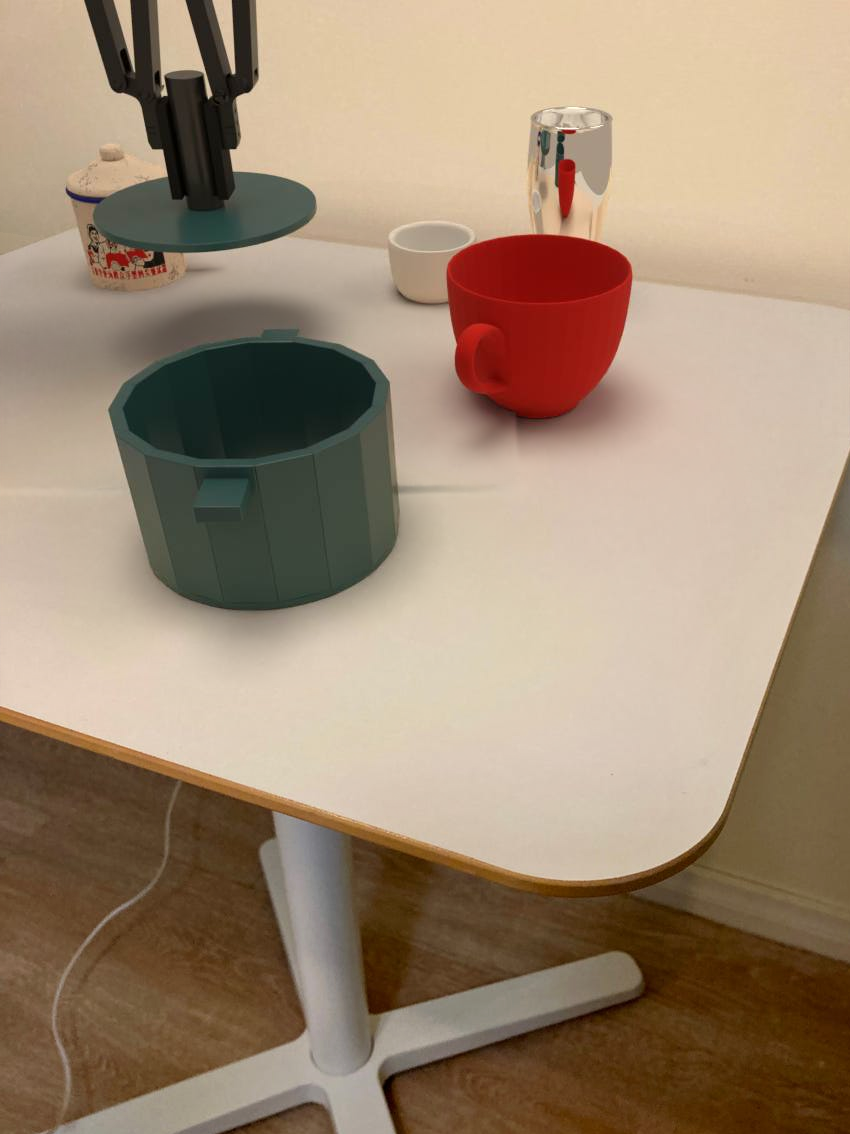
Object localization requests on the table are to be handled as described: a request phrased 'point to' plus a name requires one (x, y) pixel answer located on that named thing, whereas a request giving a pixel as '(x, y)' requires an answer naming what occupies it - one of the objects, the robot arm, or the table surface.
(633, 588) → the table surface
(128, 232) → the lid
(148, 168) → the teacup with lid
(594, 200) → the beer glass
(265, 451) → the pot
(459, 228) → the teacup
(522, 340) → the ceramic cup
